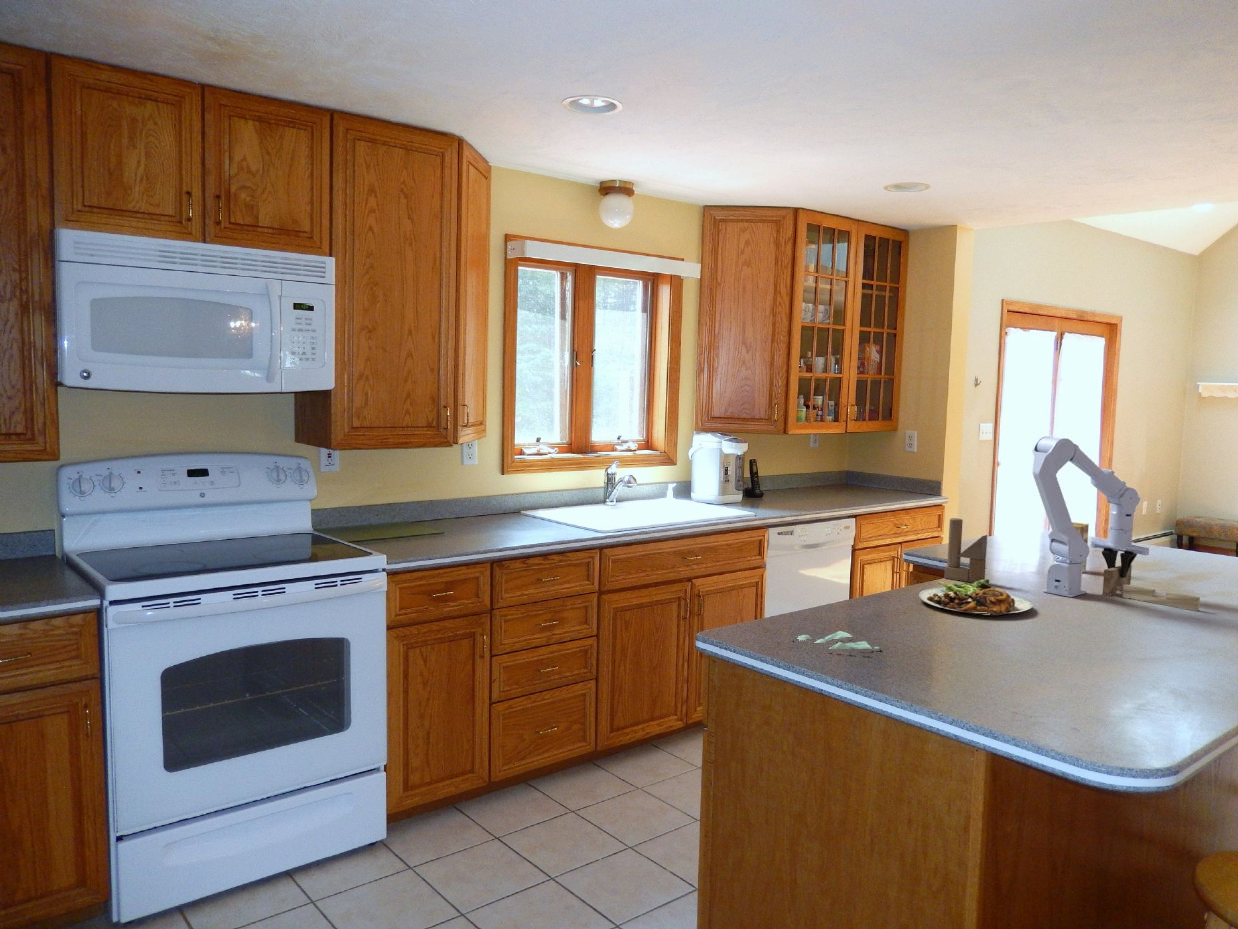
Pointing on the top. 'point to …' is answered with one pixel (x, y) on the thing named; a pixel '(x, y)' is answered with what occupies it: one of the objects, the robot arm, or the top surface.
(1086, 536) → the candy box
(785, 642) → the top surface
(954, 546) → the wooden block
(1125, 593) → the birch board
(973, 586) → the plate of food
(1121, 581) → the wooden plank
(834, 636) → the cloth
